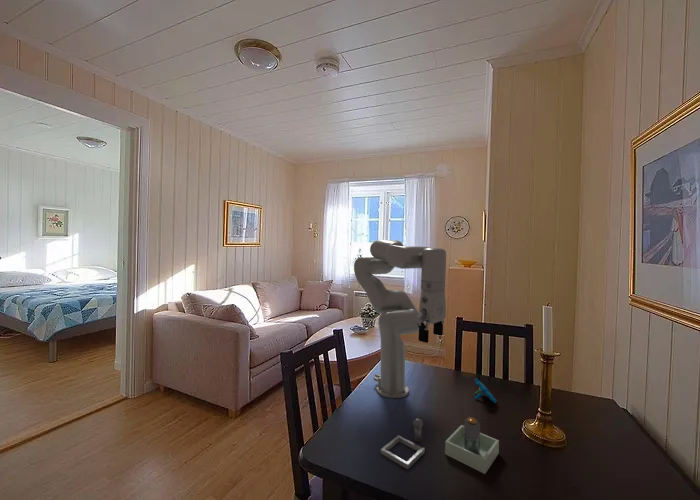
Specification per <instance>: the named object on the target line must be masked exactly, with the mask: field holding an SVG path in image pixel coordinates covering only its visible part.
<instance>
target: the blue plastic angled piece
mask: <svg viewBox="0 0 700 500" xmlns="http://www.w3.org/2000/svg"><path fill="white" fill-rule="evenodd" d="M474 382H475V384H476V385H477V386H479V387H478V390H476V391H475V392H474V394H475V395H476V396H475V397H474V399H475V400H476V401H478V399H479V398H480V397H482V396H484V395H486V396H487V397H488V398H489V400H490V401H492V402H493V403H494V404H497V399H496V398H495V396H494V395H493V394H492V393H491V391H490V390H489V388H488V387H486V386H485V384H483V383H484V382H483V383H482V382H481V381H480V380H479V379H478V378H477V377H475V378H474Z"/></svg>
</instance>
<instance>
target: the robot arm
mask: <svg viewBox="0 0 700 500" xmlns="http://www.w3.org/2000/svg"><path fill="white" fill-rule="evenodd" d="M369 253H370V254H371V255H363V256H360V257H357V258H356V259H355V261H354V263H353V272H354V276H355V278H356V281H357V283H359V285H360V286H361V287H362V289H363V290H364V292H365V293H366V296H367V298H368V300H369V302H370V304H371V306H372V308H373V310H374V311H375V312H376V313H377V314H380V316H379V318H378V319H377V320H378V330H379V335H380V374H379V373H375V374H374V377H373V381H375V382H377V383H378V384H377V385H376V392H377V393H378V395H380V396H382V397H384V398H389V399H403V398H405V397H407V396H408V394H409V393H410V389H409V387H408V386H407V385H406V384H405V383H406V381H405V380H406V379H405V378H406V345H405V343H404V341H403V340H402V337H401V336H404V335H408V334H414V333H417V332H418V341H419V342H422V343H426V344H427V343H429V337H430V335H429V333H430V332H429V331H430V330H429V329H428V328H429V327H430V324H431V325H433V328H432V329H433V331H432V333H433V335H436V336H440V337H441V336H443V334H444V323H445V319H446V315H447V313H446V312H447V311H446V310H447V305H446V303H447V300H446V270H447V269H446V268H447V251H446V250H445V249H444V248H437V247H436V248H435V247H429V246H414V245H413V246H409V245H408V246H404V245H403V243H402V241H399V240H397V239H379V240H375V241H373V243H371V245H370V247H369ZM395 268H398V269H403V270H405V269H408V270H409V269H421V275H420V276H421V277H420V278H421V279H420V283H421V284H420V298H419V306H418V307H419V309H417V308H416V306H415V305H414V303H413V301H412V300H411V298H410V297H409V295H408V294H407V293H406V292H405V291H403V290H400V289H393V290H392V289H391V290H390V289H387V288H386V287H385V285H384V283H383V282H382V281H381V280H380V279H379V278H378V277H377V276H375V275H388V274H389V273H391V272H392V271H393V270H394V269H395Z"/></svg>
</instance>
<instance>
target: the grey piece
mask: <svg viewBox="0 0 700 500" xmlns="http://www.w3.org/2000/svg"><path fill="white" fill-rule="evenodd" d="M412 425H413V427H414V432H413V433H414V438H413V440H414V442H416V443H421V442H422V428H423V425H424V423H423V420H422V419H420V418H419V417H416V418H414V420H413V421H412ZM414 442H413V441H410V440H409V439H407V438H405V437H403V436H401V435H399V434H398V435H397V436H395V438H393V439H392V440H390V441H389V442H388V443H387V444H386V445H384V446H382V447H381V449H380V454H381V455H383V456H384V457H385V458H388V459H389V460H391V461H392V462H394V463H396V464H398V465H399V466H401V467H402V468H404V469H406V470H409V469H410V468H411V467H412V466H413V465H414V464H415V463H416V462H417V461H418V460H419V459H420V458H421V457H422V456H423V455H424V454H425V447H422V446H420V445H418V444H416V443H414ZM398 443H400V444H403V445H405V446H406V447H409V448H410V449H412V450H414V451H416V452H415V453H414V454H413V455H412V456H411V457H410V458H408V460H405V459H403V458H401V457H399V456H398V455H396V454H394V453H392V452H391V451H390V450H391V449H392V448H393V447H395V445H397V444H398Z"/></svg>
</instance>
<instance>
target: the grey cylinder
mask: <svg viewBox="0 0 700 500" xmlns="http://www.w3.org/2000/svg"><path fill="white" fill-rule="evenodd" d="M463 423H464V424H463V426H464V449H466V450H468V451H471V452H473V453H475V454H477V455H480V433H481V429H480V428H481V423H480V421H479V420H477V418H475V417H472V416H469V417H467V418H465V419H464V420H463Z"/></svg>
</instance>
